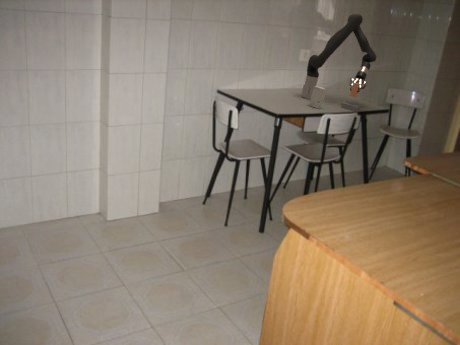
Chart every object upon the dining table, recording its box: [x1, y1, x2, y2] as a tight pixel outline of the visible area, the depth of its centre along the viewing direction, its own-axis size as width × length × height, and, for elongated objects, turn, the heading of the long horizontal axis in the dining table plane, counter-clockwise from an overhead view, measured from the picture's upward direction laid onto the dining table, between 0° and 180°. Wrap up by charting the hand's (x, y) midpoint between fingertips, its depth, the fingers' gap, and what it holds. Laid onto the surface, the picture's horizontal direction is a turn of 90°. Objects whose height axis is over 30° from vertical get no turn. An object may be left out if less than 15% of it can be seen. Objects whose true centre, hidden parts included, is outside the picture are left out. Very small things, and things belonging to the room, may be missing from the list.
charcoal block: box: [340, 101, 361, 112], centre depth 361 cm, size 11×11×4 cm
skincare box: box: [308, 85, 328, 109], centre depth 343 cm, size 8×6×15 cm
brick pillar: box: [349, 82, 360, 98], centre depth 356 cm, size 5×5×10 cm
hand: (354, 91), depth 355 cm, fingers closed on brick pillar, 4 cm apart
